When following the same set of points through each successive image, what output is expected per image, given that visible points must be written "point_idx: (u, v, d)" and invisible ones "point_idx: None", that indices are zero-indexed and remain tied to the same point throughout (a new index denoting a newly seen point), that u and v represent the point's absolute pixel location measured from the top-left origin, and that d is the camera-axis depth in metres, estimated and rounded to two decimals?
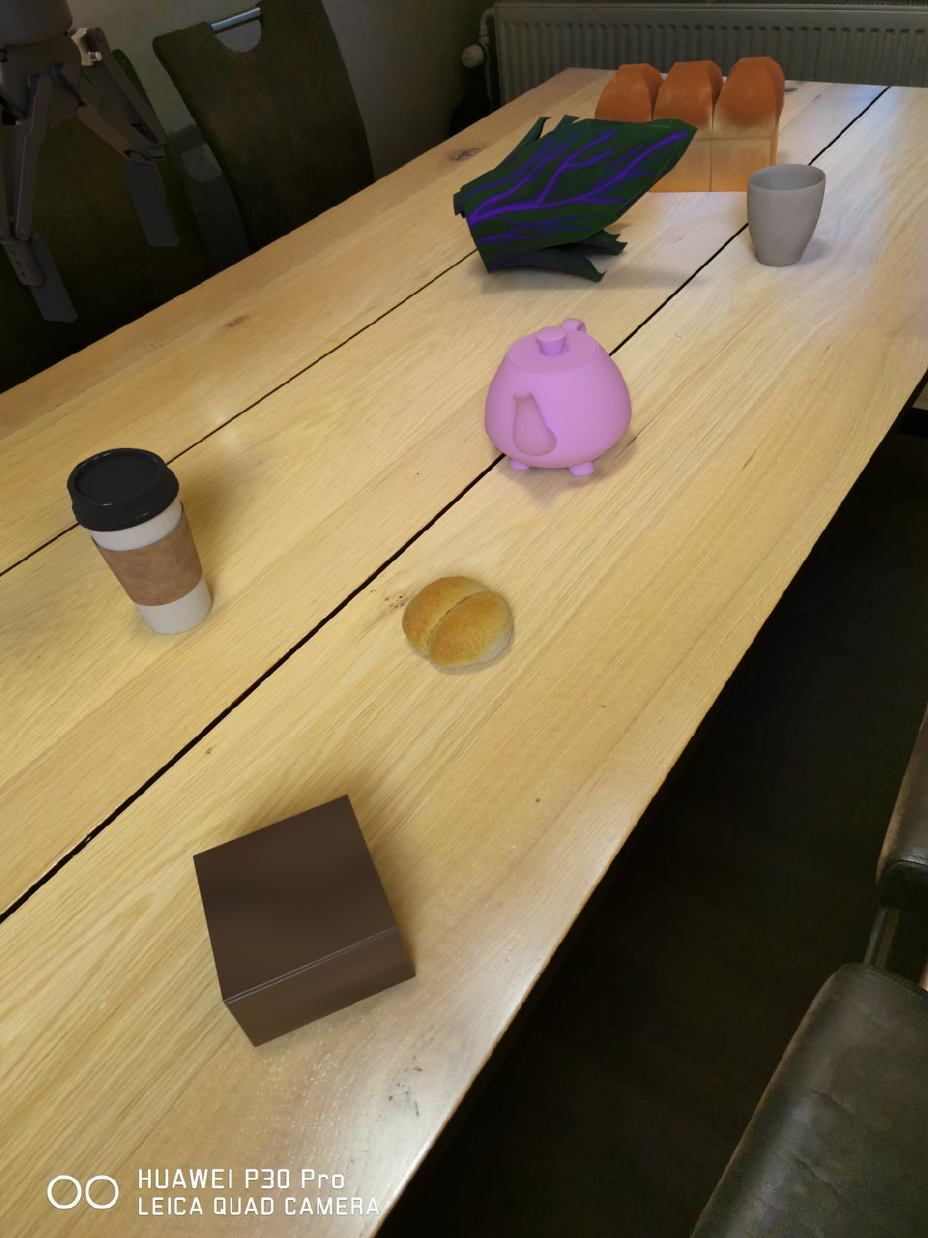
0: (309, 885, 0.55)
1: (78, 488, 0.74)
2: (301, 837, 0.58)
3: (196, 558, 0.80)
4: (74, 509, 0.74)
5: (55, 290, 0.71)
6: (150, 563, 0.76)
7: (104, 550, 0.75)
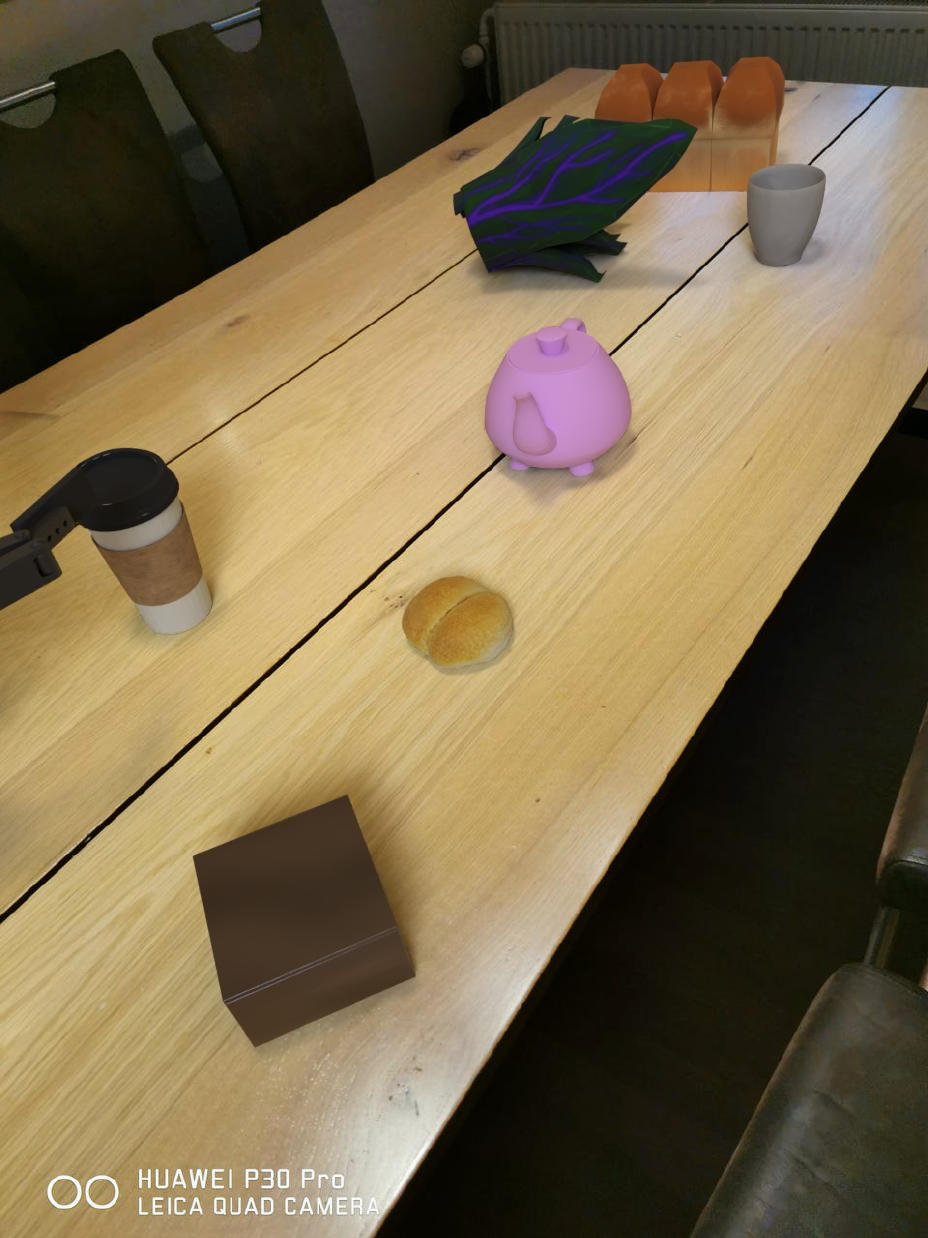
0: (309, 885, 0.55)
1: None
2: (301, 837, 0.58)
3: (196, 558, 0.80)
4: None
5: None
6: (150, 563, 0.76)
7: (104, 550, 0.75)
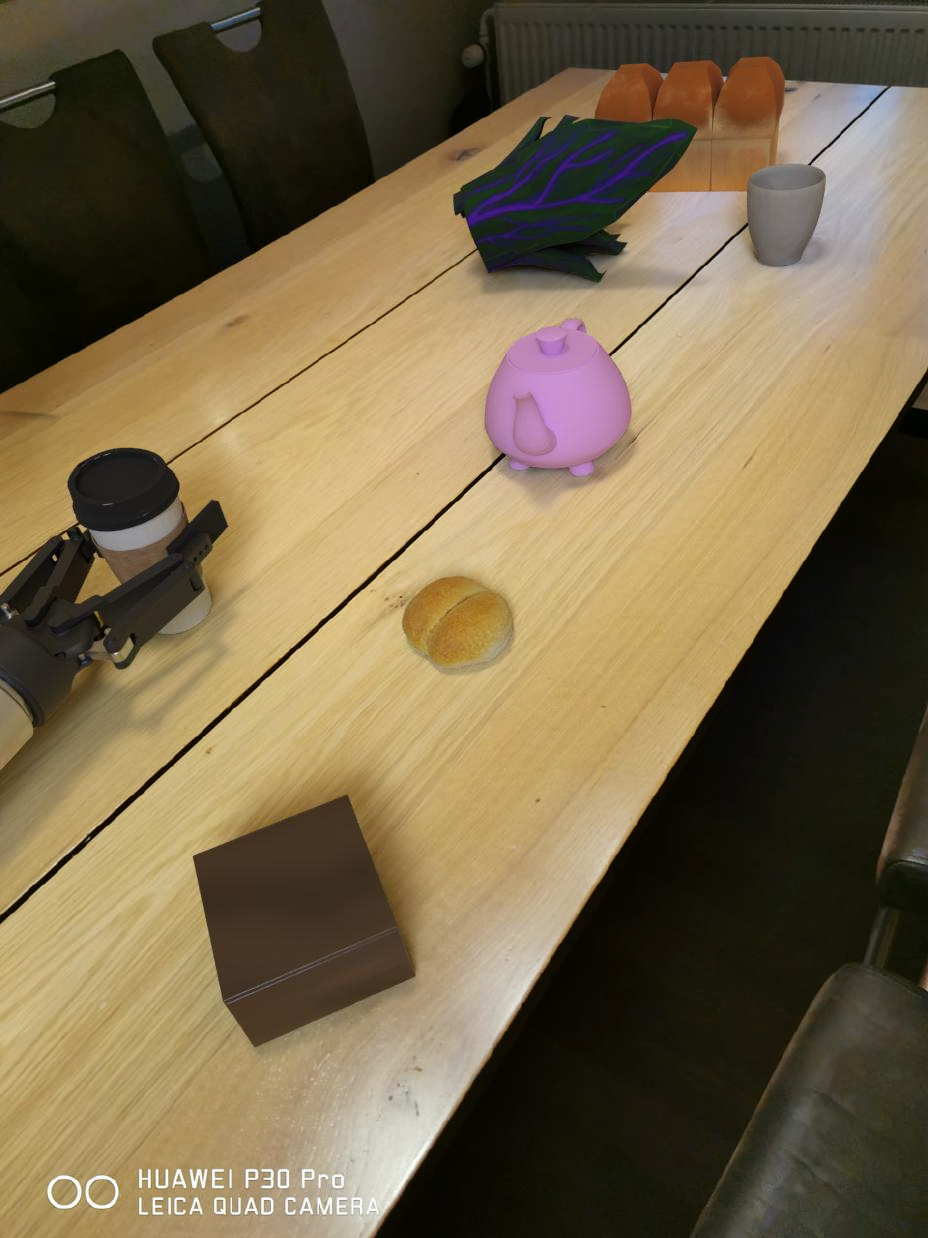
0: (309, 885, 0.55)
1: (79, 488, 0.74)
2: (301, 837, 0.58)
3: None
4: (74, 509, 0.74)
5: None
6: (150, 563, 0.76)
7: (104, 550, 0.75)
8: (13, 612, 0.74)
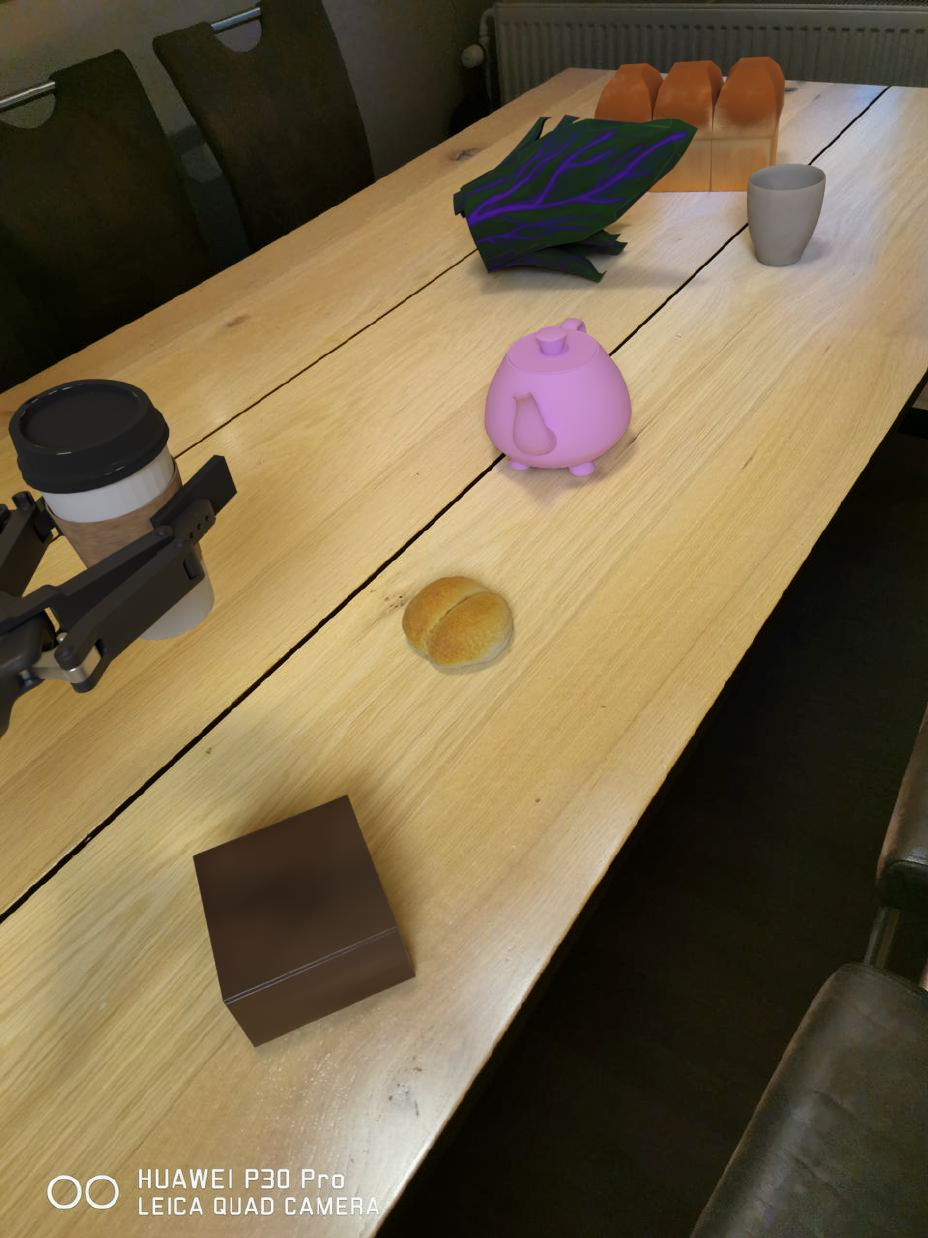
0: (309, 885, 0.55)
1: (25, 433, 0.52)
2: (301, 837, 0.58)
3: None
4: (19, 462, 0.52)
5: None
6: (128, 541, 0.54)
7: (63, 522, 0.53)
8: None
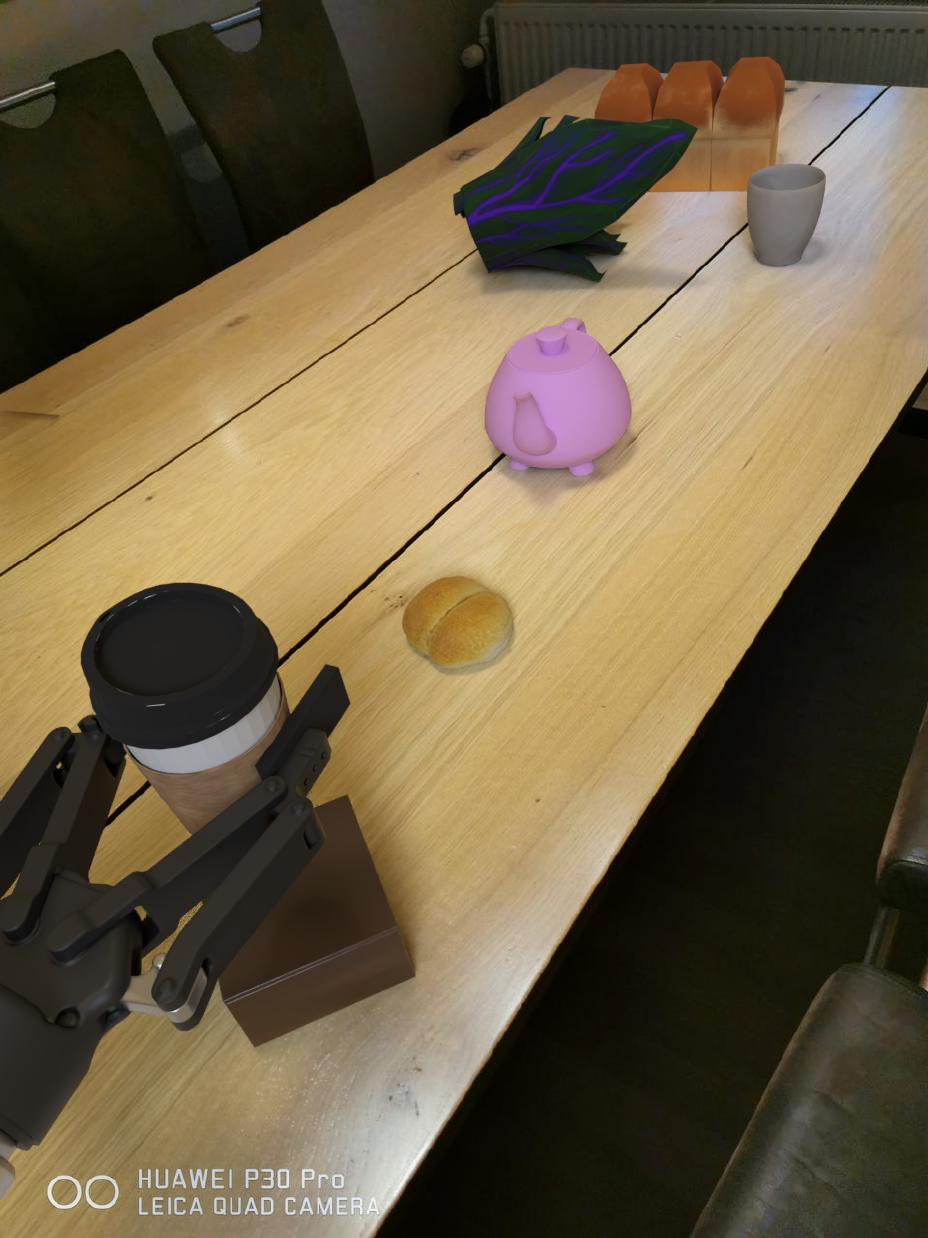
0: (309, 885, 0.55)
1: (101, 663, 0.41)
2: None
3: None
4: (94, 702, 0.41)
5: None
6: (226, 790, 0.43)
7: (146, 770, 0.42)
8: None
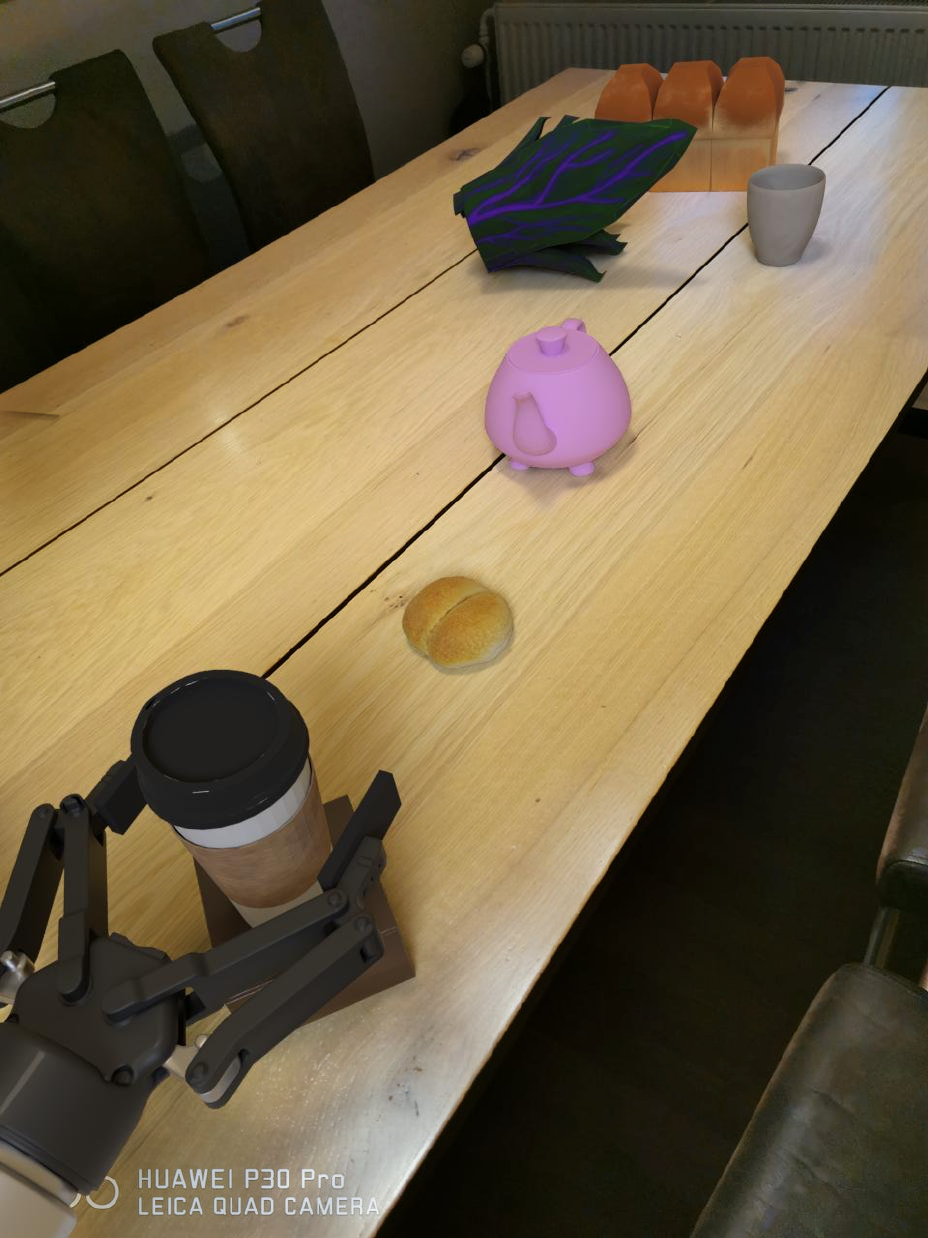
0: None
1: (148, 748, 0.45)
2: None
3: (325, 829, 0.51)
4: (142, 784, 0.45)
5: None
6: (261, 861, 0.47)
7: (189, 844, 0.46)
8: (22, 962, 0.44)
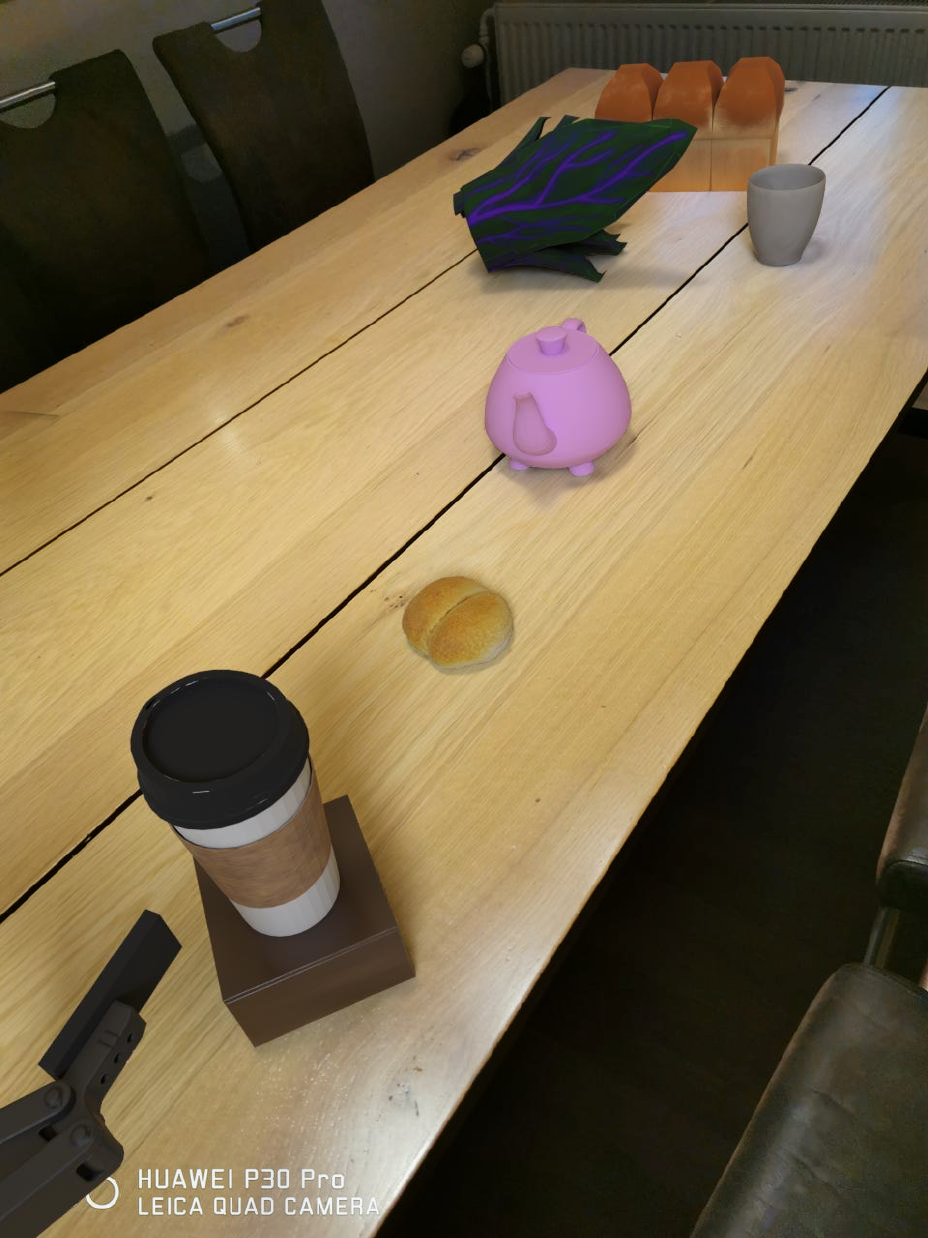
0: None
1: (148, 748, 0.45)
2: None
3: (325, 829, 0.51)
4: (142, 784, 0.45)
5: None
6: (261, 861, 0.47)
7: (189, 844, 0.46)
8: None
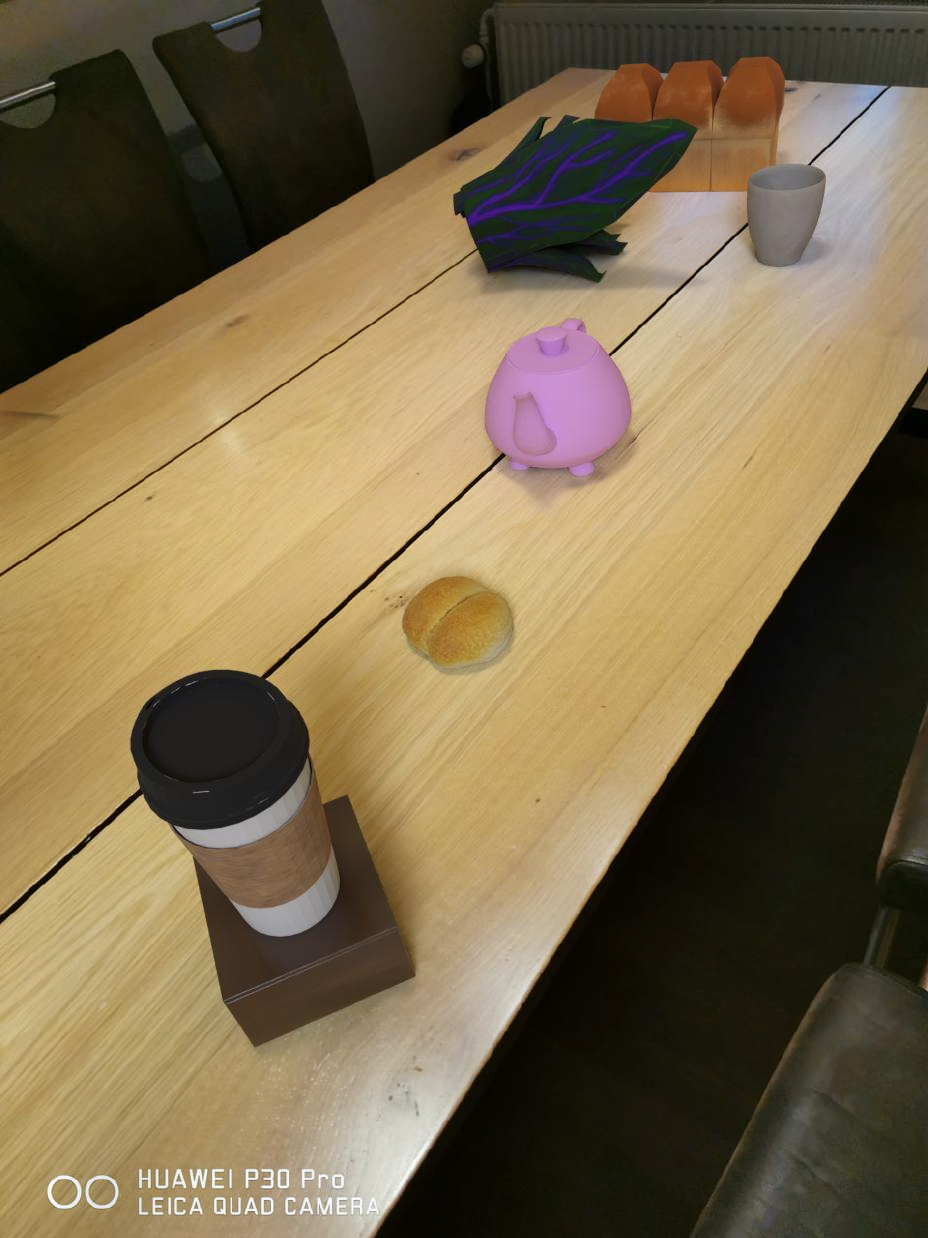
0: None
1: (148, 748, 0.45)
2: None
3: (325, 829, 0.51)
4: (142, 784, 0.45)
5: None
6: (261, 861, 0.47)
7: (189, 844, 0.46)
8: None
